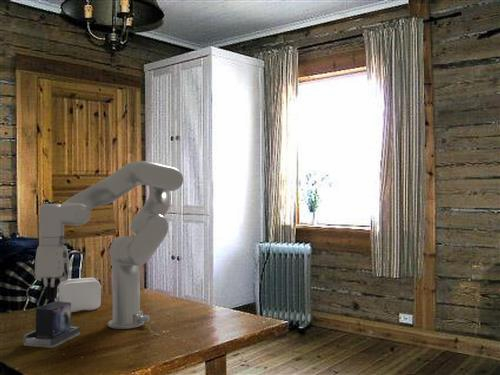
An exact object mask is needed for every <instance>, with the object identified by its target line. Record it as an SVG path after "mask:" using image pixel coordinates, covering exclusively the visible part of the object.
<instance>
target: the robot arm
mask: <svg viewBox="0 0 500 375" xmlns="http://www.w3.org/2000/svg"><path fill="white" fill-rule="evenodd" d="M183 182H184V175H183V173H182V172H181V171H180V170H179V169H178V168H176V167H173V166H168V165H164V164H160V163H156V162H153V161H146V160H138V161H131V162H128V163H126V164H125V165H124V166H122V167H121V168H119V169H117V170H116V171H114V172H112V173H111V174H110V175H108V176H106V177H105V178H104V179H102V180H100V181H99V182H96V183H94V184H93V185H91V186H89V187H87V188H85V189H83V190H81V191H79V192H78V193H76V194H74V195H73V196H71V197H70V198H68V199H67V200H65V201H64V202H62V203H43V204H41V205H40V206H39V209H38V210H39V211H38V214H39V217H38V218H39V219H38V223H39V224H38V232H39V233H38V246H37V248H36V253H35V259H34V260H35V262H34V273H35V274H34V275H35V276H36V277H35V279H36V281H39V282H42V284H43V285H44V286H43V287H44V288H45V296H46V300H47V301H49V300H50V301H51V300H52V301H53V300H54V299H57V297H58V287H59V284H60V282H63V281H66V280H67V279H68V276H69V275H70V259H69V252H68V247H67V245H65V244H66V243H67V242H68V239H67V238H65V226H74V227H75V226H76V227H77V226H78V227H80V226H83V225H85V224H87V223H88V222H89V221H90V219H91V216H92V214H91V211H92V210H93V209H95V208H97V207H100V206H104V205H105V206H106V205H110V204H111V203H114V202H116V201H118V200H119V199H121V198H122V197H123V196H125V195H126V194H128V193H130V191H132V190H134V188H137V187H138V186H148V189H149V190H148V191H149V192H148V197H147V200H146V202H145V203H144V205H143V206H142V207H141V209H140V210H139V211H138V213H137V214H136V215H135V216H134V218H133V219H132V221H131V223H130V228H129V229H130V232H131V233H132V235H134V236H130V235H121V236H118V237H117V238H115V239H114V240H113V241H112V242H111V245H110V246H109V248H110V249H109V256H110V262H111V263H110V264H111V269H112V270H111V271H112V272H111V274H112V285H111V286H112V319H110V320H109V321H108V322H107V326H108V327H109V328H110V329H117V330H129V329H135V328H139V327H142V326H144V325H145V322H146V323H147V322H148V323H149V322H150V320H151V317H150V316H151V315H149V314H144V311H143V310H141V285H140V284H141V274H140V266H142V265H144V264H146V263H148V262H149V260H151V258H152V257H153V255H155V252H156V251H157V250H158V248H159V246H160V245H162V243H163V241H164V240H165V238H166V237H167V234H168V232H169V222H168V220H167V218H166V217H165V216H166V214H167V213H168V210H169V209H170V206H171V195H170V192H174V191H177V190H179V189H180V188H181V187H182V185H183Z"/></svg>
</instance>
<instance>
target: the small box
mask: <svg viewBox="0 0 500 375" xmlns="http://www.w3.org/2000/svg"><path fill="white" fill-rule="evenodd" d="M71 317H72V312H71V303H69V302H59V300H55V301H53V302H49V303H47V304H43V305H42V306H41V305H40V306H38V307H36V308H35V330H36V335H35V338H46V339H53V338H55V337H57V336H59V335H62V334H64V333H66V332H68V331H70V330H71V327H72V318H71Z"/></svg>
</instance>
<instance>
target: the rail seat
mask: <svg viewBox="0 0 500 375" xmlns="http://www.w3.org/2000/svg"><path fill="white" fill-rule="evenodd" d="M80 329H81V327H80V326H71V330H70V331H68V332H66V333H64V334H62V335H59V336H57V337H55V338H53V339H46V338H35V335H36V329H34V330H33V331H31V332H28V333H26V334H23V346H26V347H37V348H51V349H53V348H56V347H58V346H61V345H62V344H64V343H65V342H68V341H69V340H72V339H73V338H75V337H77V336H80V335H81V330H80Z"/></svg>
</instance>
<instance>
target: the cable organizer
mask: <svg viewBox="0 0 500 375" xmlns="http://www.w3.org/2000/svg"><path fill="white" fill-rule="evenodd" d="M101 286H102V285H101V283H100V281H99V280H97V279H96V278H95V277H82V278H81V277H80V278H69V279H68V278H67V280H66V281H63V282H60V284H59V285H58V287H59V288H58V290H59V291H58V292H59V293H58V298H59V299H58V301H59V302H69V303H71V313H74V312H75V313H76V312H80V311H85V310H86V311H94V310H96V309H98V308H99V307H100V306H101V303H102V296H101V295H102V293H101V292H102V288H101Z"/></svg>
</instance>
